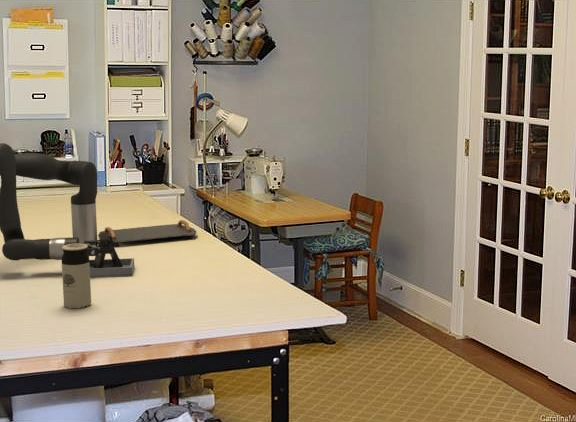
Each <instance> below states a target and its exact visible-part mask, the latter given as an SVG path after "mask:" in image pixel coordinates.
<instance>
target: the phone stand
mask: <svg viewBox="0 0 576 422" xmlns="http://www.w3.org/2000/svg"><path fill="white" fill-rule="evenodd" d="M100 232H101V231H100ZM100 232H99V233H100ZM104 233H105V234H106V235H107V237H106V236H105V235H104V234H103V233H102V232H101V233H100V235H99V236H98V238H99V240H100V242H99V246H98V247H100V248H101V247H112V254H109V255H110V257H111V258H110V259H112V261H113V263H111V264H104V259H106V254H101V255H98V256H94V259H93V260H94V263H93V267H94V268H114V267H123V266H122V264H121V262H120V259H121V258H120V257H119V255H118V253H117V251H116V248H115V247H114V246H113V244H112V241H113V240H112V237H111V236H109V235H108V234H107V233H106V232H104ZM105 238H106V240H105ZM103 264H104V265H103Z"/></svg>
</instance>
